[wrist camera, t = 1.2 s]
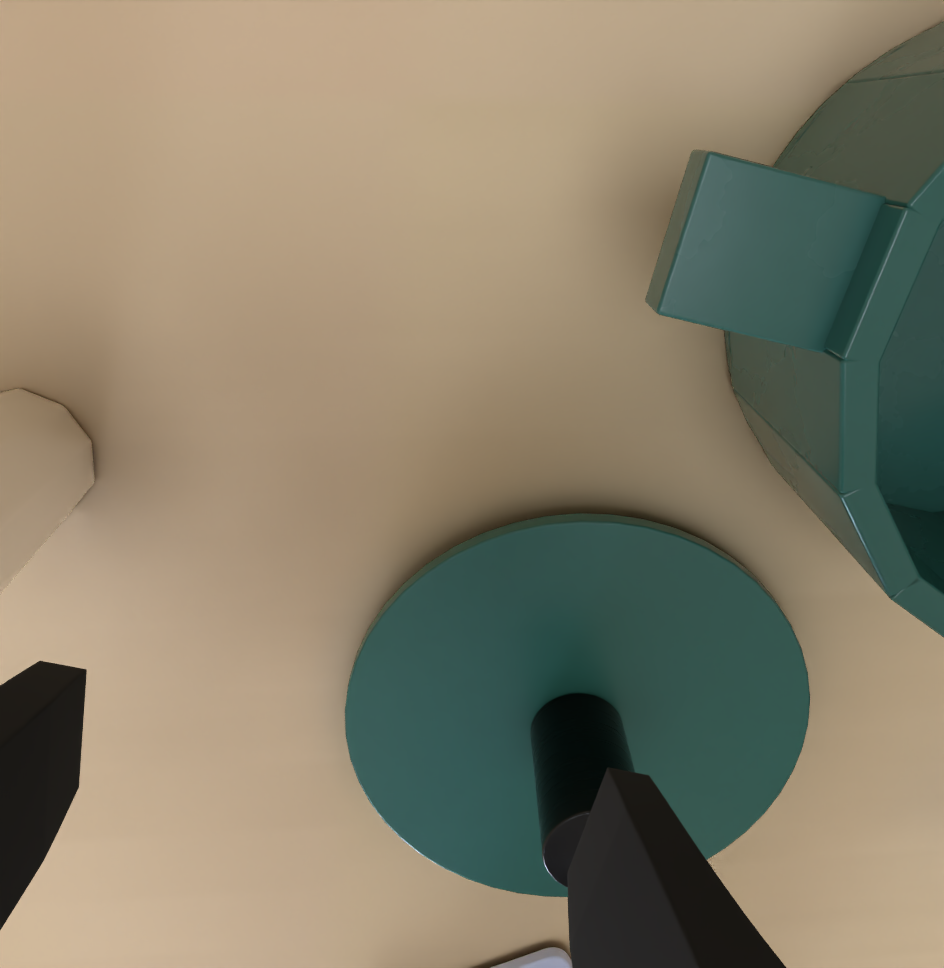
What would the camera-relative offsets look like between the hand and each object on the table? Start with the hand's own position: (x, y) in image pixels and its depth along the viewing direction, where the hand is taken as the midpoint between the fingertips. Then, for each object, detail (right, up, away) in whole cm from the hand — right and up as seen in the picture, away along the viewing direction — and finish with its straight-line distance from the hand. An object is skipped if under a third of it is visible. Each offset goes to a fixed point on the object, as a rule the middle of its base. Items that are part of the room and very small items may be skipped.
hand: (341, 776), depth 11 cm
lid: (+5, -2, +11) cm, 12 cm away
